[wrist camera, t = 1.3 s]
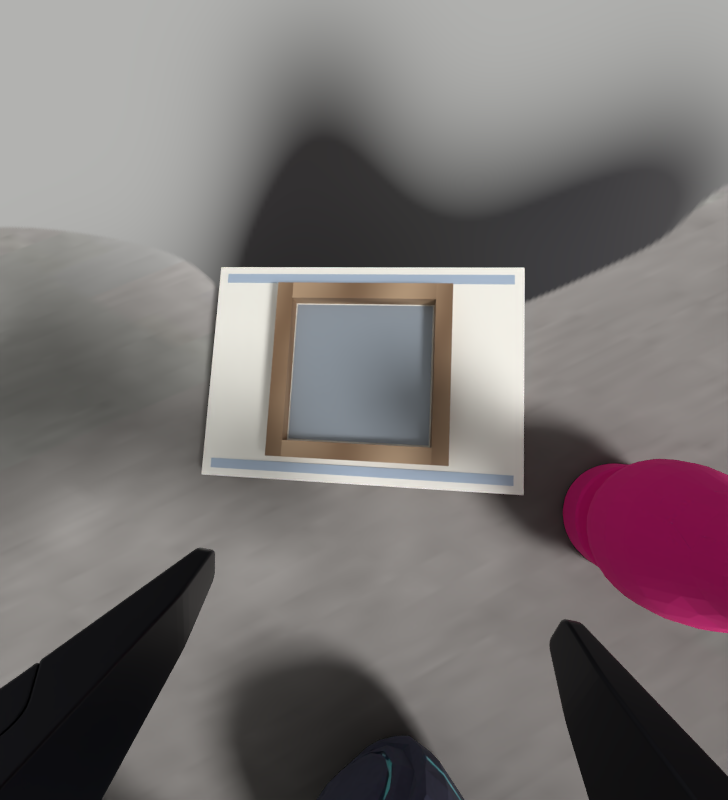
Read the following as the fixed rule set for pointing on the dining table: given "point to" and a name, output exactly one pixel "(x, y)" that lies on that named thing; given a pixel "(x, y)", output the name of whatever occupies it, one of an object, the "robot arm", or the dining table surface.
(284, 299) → the walnut socket
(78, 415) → the dining table surface
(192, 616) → the robot arm
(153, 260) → the dining table surface
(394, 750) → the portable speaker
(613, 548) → the pepper mill
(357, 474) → the picture frame
